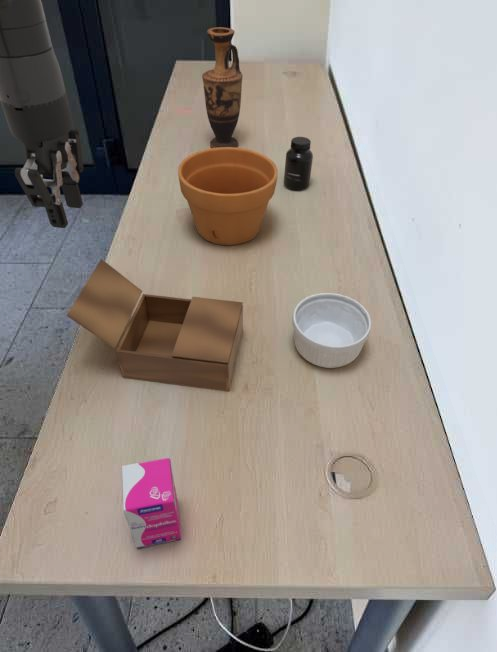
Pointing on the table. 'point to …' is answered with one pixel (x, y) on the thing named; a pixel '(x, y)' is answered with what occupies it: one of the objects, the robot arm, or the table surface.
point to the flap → (105, 303)
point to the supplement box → (151, 502)
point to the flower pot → (227, 192)
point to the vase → (223, 89)
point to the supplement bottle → (298, 164)
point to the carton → (182, 341)
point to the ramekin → (330, 329)
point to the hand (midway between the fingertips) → (67, 215)
